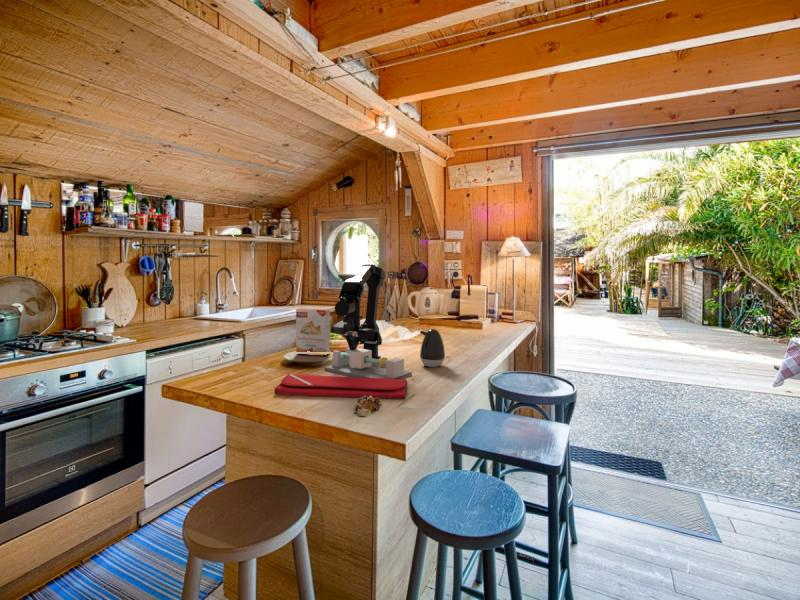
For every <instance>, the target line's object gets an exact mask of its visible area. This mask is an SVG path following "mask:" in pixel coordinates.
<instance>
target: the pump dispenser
mask: <svg viewBox="0 0 800 600" xmlns="http://www.w3.org/2000/svg"><path fill="white" fill-rule="evenodd" d="M419 333H420V334H421V335H424V337H423V340H422V343H421V346H420V353H419V357H420V361H421V363H422V365H424V366H425V367H427V366H428V368H438V367H440V366H442V365H443V363H444V360H445V358H446V349H445V344H444V340H443V338H442V335H441V333H440V332H439V331H438V330H437V329H435V328H431V329H429V330H428V331H424V330H420V331H419Z"/></svg>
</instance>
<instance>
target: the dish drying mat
mask: <svg viewBox="0 0 800 600" xmlns="http://www.w3.org/2000/svg"><path fill="white" fill-rule="evenodd" d="M407 385H408V380H406V379H405V380H404V379H389V378H356V377H351V376H336V375H319V374H316V375H315V374H301V373H287V375H286V376H285V377H283V378H282V379H281V381H280V384H278V385H277V386H275V388H274V395H275V394H288V395H287V396H295V395H302V396H304V397H305V396H306V397H324V396H325V397H327V398H328V397H329V398H358V399H359V398H361V397H363V396H364V395H366V396H368V397H369V396H372V397H373V398H377V397H379V399H395V400H396V399H398V400H401V399H403V400H404V399H405V398H406V396H405V395H406V389H407Z"/></svg>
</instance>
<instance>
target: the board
mask: <svg viewBox="0 0 800 600" xmlns="http://www.w3.org/2000/svg"><path fill="white" fill-rule="evenodd" d="M340 352H341V351H340V350H332V358H331V365H328V366H324V371H327V372H331V373H334V374H340V375H343V376H346V377H356V378H389V379H399V380H403V379H404V377H405V378H408V377H410V375H411V376H412V375H413V374H412V373H413V372H412V371H409V370H405V368H404V366H405V358H401V357H393V358H389V359H388V360H386V368H385V369H383V368H380V366H379V364H376V363H372V366H369V367H365V368H362V369H360V368H356V367H351V366H350V358H347V357H344V354H340ZM342 352H343V351H342ZM343 353H348V354H350V349H349V347H345V352H343ZM407 376H408V377H407Z"/></svg>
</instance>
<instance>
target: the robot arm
mask: <svg viewBox="0 0 800 600" xmlns="http://www.w3.org/2000/svg"><path fill="white" fill-rule="evenodd" d="M385 279H386V272H385V270H384V269H383V268H382V267H380V266H377V265H376V264H374V263H362V265H361V268H360V269H359V270H358V272H357V273H356V274H355V275H354V277H350V278H348V279H346V280H345V281H344V282H343V283H342V285H341V289H340V291H339V296H338V301H337V302H336V303H335V306H334V312H335V313H336V314H337V316H340V317H342V320H341V321H338V322H337V323H335V324H333V325H332V327H330V334H331V333H332V334H335V335H340V336H341V337H342V338H344V339H345V341H346V343H347V345H348V348H349V349H350V350H355V349H358V348H357V347H358V346H359V345H363V348H362V349H367V350H372V358H373V359H381V358H382V356H380V355H379V346H382V343H383V337H382V336H381V333H380V328H379V326H378V323H377V315H378V304H379V294H380V289H381V287H382V286H383V285H384V281H385ZM365 284H366V285H367V287H368V289H367V300H366V311H365V319H364V322H362V323H361V319H363V315H361V302H362V295H363V293H364V291H365V286H364V285H365Z"/></svg>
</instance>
